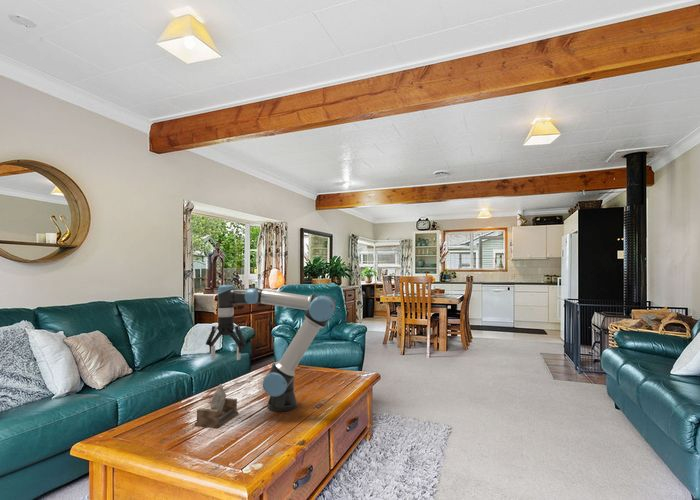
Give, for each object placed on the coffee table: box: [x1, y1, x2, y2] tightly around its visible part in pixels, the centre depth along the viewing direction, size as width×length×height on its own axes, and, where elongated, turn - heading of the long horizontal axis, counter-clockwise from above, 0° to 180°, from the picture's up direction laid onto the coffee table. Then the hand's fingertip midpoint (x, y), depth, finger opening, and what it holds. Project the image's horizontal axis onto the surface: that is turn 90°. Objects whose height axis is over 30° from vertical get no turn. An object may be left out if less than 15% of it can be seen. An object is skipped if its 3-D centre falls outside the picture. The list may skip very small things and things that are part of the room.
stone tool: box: [210, 383, 227, 416], centre depth 181 cm, size 11×4×15 cm, turn 164°
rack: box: [194, 397, 239, 429], centre depth 181 cm, size 12×18×7 cm, turn 167°
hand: (225, 359), depth 189 cm, fingers open, 13 cm apart
